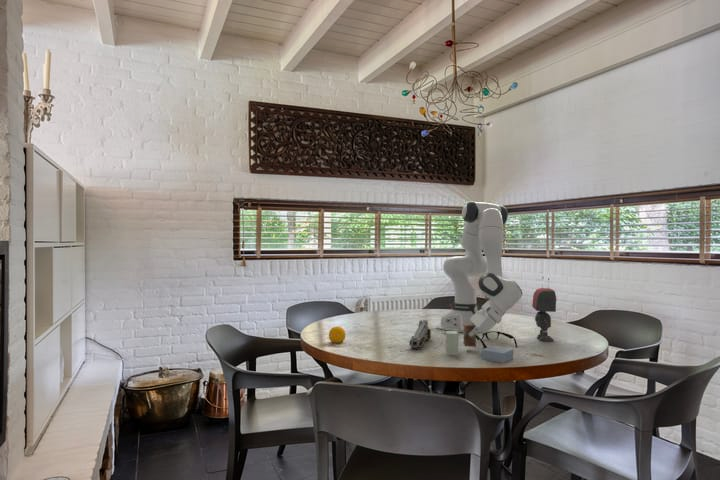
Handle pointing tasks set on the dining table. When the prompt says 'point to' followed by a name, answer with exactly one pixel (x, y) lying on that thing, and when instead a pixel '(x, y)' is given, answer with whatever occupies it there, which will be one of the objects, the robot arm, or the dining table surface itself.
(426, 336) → the toy
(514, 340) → the glasses
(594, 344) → the dining table surface
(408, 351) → the dining table surface
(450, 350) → the sage block
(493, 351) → the slate pedestal
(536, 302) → the toy robot
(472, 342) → the walnut block
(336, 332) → the orange
